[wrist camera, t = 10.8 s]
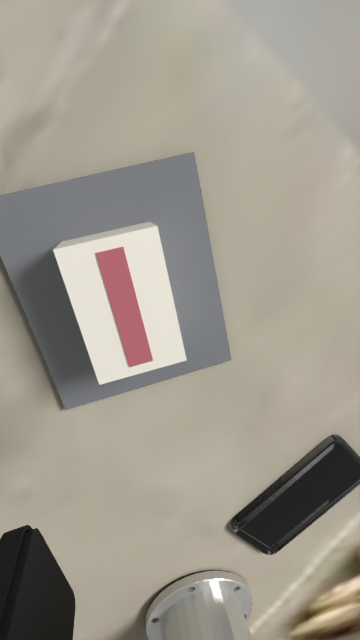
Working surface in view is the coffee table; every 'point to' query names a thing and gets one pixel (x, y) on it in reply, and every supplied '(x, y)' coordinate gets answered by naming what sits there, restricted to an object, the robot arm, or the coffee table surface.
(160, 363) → the card box
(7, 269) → the mat
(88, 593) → the coffee table surface
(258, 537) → the phone
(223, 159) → the coffee table surface
